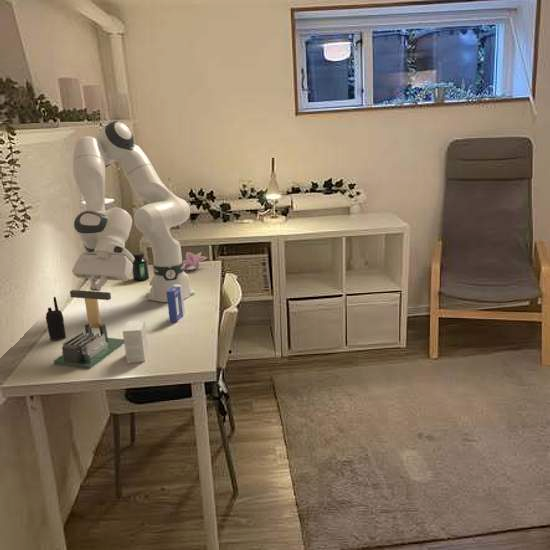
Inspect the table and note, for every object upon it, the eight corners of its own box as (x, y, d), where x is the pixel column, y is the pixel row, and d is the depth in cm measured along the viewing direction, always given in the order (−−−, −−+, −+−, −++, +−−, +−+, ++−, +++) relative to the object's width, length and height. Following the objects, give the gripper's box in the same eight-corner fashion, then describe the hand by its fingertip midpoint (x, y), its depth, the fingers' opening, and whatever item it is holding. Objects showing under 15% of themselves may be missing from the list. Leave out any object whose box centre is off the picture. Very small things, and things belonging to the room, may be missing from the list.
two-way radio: (67, 335, 194) (60, 295, 190) (65, 341, 190) (57, 299, 186) (50, 337, 193) (43, 296, 189) (47, 342, 189) (40, 300, 185)
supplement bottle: (146, 281, 250) (143, 255, 246) (131, 281, 250) (128, 255, 247) (150, 276, 256) (147, 251, 253) (135, 277, 257) (132, 251, 253)
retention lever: (78, 324, 184) (72, 289, 180) (115, 328, 180) (110, 292, 176) (75, 326, 183) (69, 291, 179) (112, 329, 178) (107, 294, 175)
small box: (131, 352, 179) (126, 321, 176) (148, 350, 179) (145, 320, 176) (126, 363, 172) (122, 331, 168) (145, 361, 172) (141, 330, 169)
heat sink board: (91, 339, 190) (88, 316, 188) (125, 342, 186) (121, 319, 184) (54, 364, 173) (49, 339, 171) (90, 368, 169) (86, 343, 167)
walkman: (177, 322, 201) (173, 290, 198) (169, 322, 202) (166, 290, 198) (185, 314, 209) (182, 283, 205) (178, 314, 209) (175, 283, 206)
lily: (212, 269, 266) (205, 251, 267) (206, 267, 254) (199, 247, 256) (188, 278, 267) (182, 259, 268) (181, 276, 255) (175, 256, 257)
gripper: (76, 246, 187) (62, 283, 181) (130, 249, 180) (116, 287, 174) (87, 256, 192) (73, 292, 186) (139, 258, 186) (126, 296, 180)
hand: (94, 290), depth 180 cm, fingers closed
